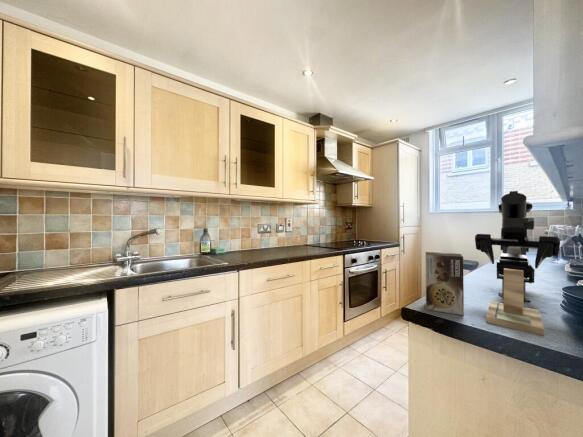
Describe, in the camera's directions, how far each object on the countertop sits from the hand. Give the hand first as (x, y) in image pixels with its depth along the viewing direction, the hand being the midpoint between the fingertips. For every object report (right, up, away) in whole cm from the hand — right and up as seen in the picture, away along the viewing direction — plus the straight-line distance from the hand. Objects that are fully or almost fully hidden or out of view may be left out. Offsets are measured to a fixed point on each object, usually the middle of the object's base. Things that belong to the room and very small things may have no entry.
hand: (513, 265), depth 68 cm
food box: (-21, -13, -1) cm, 25 cm away
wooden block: (-6, -11, -6) cm, 14 cm away
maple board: (-7, -13, -7) cm, 16 cm away
